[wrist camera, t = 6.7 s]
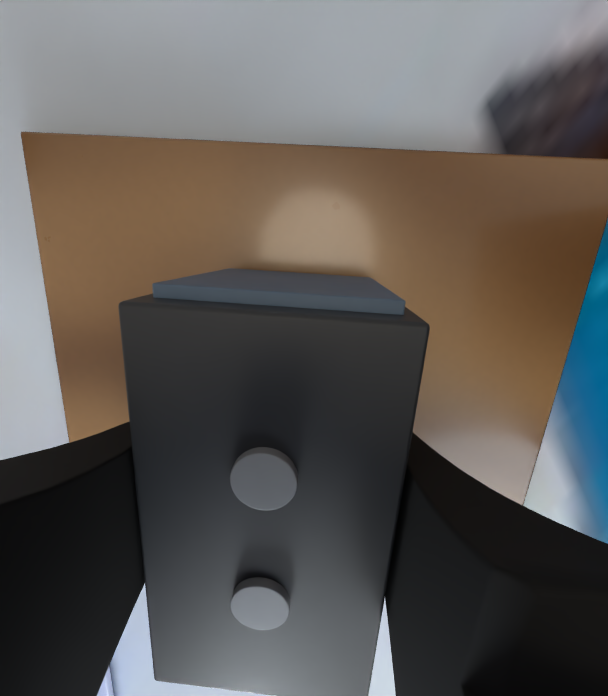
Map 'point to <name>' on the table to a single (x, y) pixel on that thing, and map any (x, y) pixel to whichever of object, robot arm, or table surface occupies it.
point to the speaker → (269, 472)
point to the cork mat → (333, 263)
